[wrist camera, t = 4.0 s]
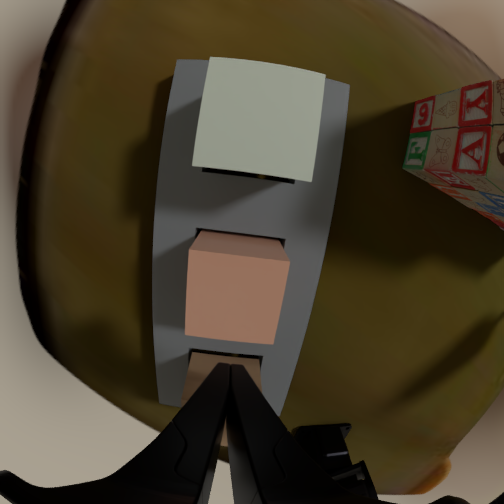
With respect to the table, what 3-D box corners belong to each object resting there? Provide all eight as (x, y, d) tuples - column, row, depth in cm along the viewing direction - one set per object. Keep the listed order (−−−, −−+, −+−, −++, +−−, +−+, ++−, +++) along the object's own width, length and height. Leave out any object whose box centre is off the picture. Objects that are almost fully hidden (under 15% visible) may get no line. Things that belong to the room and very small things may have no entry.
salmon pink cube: (266, 304, 20) (273, 344, 15) (197, 296, 19) (184, 334, 15) (277, 237, 18) (290, 261, 14) (202, 228, 18) (189, 249, 13)
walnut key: (250, 401, 21) (252, 447, 16) (191, 395, 20) (183, 440, 16) (259, 359, 19) (263, 407, 15) (192, 352, 19) (181, 399, 14)
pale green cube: (290, 178, 16) (311, 182, 11) (207, 167, 15) (191, 166, 11) (301, 100, 14) (325, 74, 10) (219, 88, 14) (210, 56, 9)
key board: (277, 401, 24) (279, 415, 22) (163, 389, 23) (159, 403, 21) (339, 92, 16) (349, 84, 14) (183, 69, 15) (177, 59, 13)
